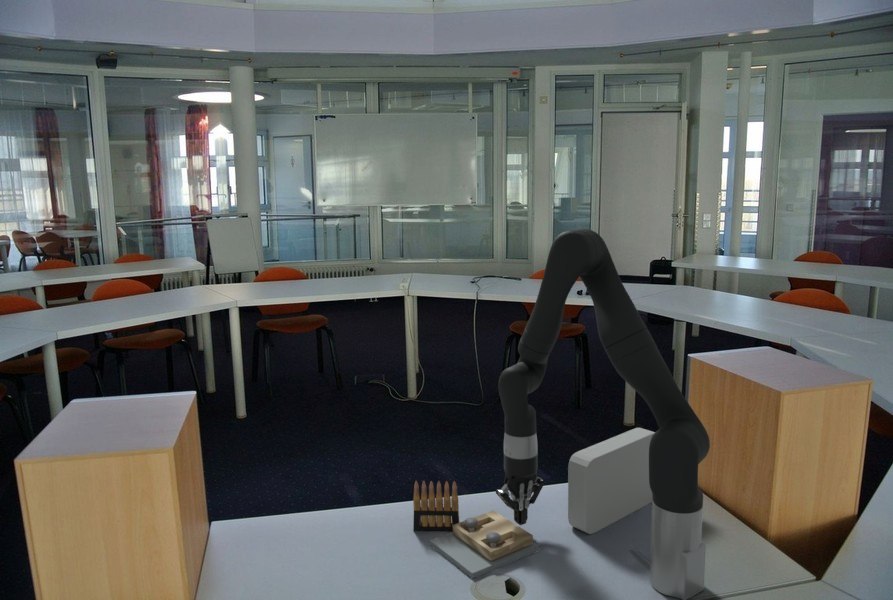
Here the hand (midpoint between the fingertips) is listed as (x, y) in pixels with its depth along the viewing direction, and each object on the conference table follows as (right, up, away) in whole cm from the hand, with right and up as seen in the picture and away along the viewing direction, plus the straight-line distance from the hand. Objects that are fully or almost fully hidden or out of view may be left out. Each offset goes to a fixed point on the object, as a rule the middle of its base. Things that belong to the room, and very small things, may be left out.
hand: (520, 523), depth 152 cm
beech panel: (-7, -2, -5) cm, 8 cm away
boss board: (-9, -4, -6) cm, 11 cm away
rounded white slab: (+24, -1, +9) cm, 25 cm away
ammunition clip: (-19, -3, +3) cm, 20 cm away
